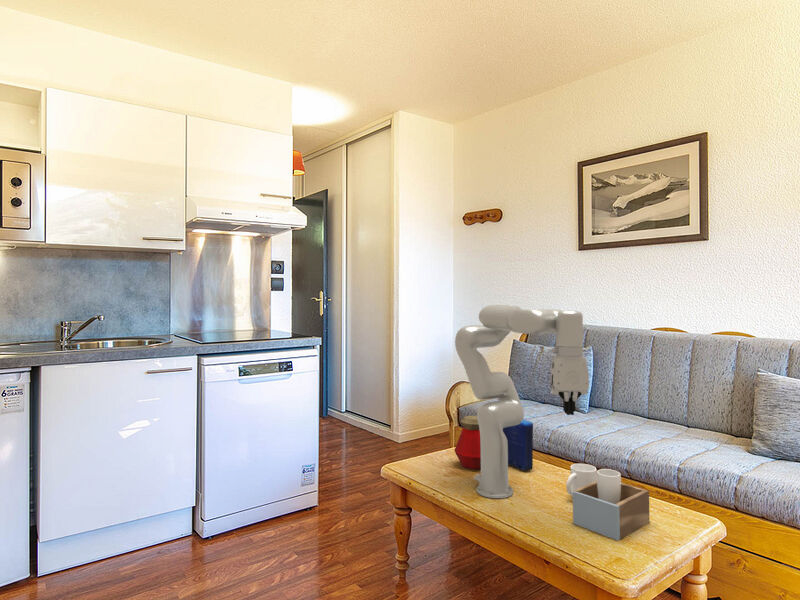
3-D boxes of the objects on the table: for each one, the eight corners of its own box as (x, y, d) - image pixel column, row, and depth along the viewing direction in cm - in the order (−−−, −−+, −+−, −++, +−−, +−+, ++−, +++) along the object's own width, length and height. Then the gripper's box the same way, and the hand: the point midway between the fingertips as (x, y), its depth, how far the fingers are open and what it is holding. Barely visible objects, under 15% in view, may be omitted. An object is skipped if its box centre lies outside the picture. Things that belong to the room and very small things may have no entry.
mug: (576, 506, 159) (576, 475, 159) (557, 497, 166) (557, 467, 166) (602, 499, 164) (601, 469, 164) (582, 491, 172) (582, 462, 172)
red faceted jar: (498, 466, 199) (498, 417, 199) (479, 475, 189) (478, 423, 189) (467, 458, 210) (466, 411, 210) (447, 465, 200) (447, 417, 200)
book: (500, 463, 203) (499, 415, 203) (509, 461, 205) (509, 413, 205) (524, 473, 190) (524, 422, 190) (534, 471, 193) (534, 420, 193)
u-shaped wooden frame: (574, 521, 148) (573, 490, 148) (604, 506, 158) (604, 477, 158) (619, 539, 136) (619, 505, 136) (649, 522, 147) (649, 490, 147)
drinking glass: (610, 529, 143) (609, 477, 143) (592, 519, 149) (591, 470, 149) (626, 524, 145) (626, 474, 146) (608, 515, 152) (608, 467, 152)
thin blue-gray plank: (573, 523, 147) (572, 491, 147) (574, 522, 147) (574, 491, 147) (618, 540, 136) (617, 506, 136) (619, 539, 136) (619, 505, 136)
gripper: (548, 353, 140) (548, 417, 141) (599, 353, 141) (599, 416, 141) (540, 350, 148) (540, 411, 148) (589, 350, 148) (589, 410, 148)
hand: (569, 413), depth 144 cm, fingers closed
